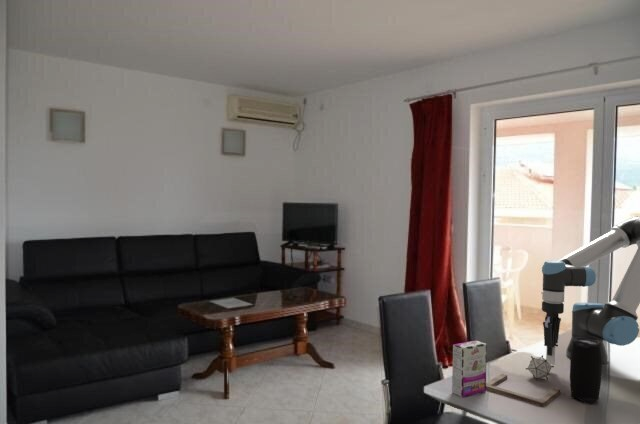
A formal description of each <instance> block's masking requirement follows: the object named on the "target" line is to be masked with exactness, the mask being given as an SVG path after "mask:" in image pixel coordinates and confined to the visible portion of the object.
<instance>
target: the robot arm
mask: <svg viewBox="0 0 640 424" xmlns="http://www.w3.org/2000/svg"><path fill="white" fill-rule="evenodd" d="M632 245H636V246H637V249H636V252H634V256H633V258H632V259H631V262H630V264H629V265H628V268H627V269H626V271H625V273H624V275H623V278H622V279H621V281H620V283H619V286H618V287H617V289H616V292H615V293H614V295H613V298H612V299H611V301H608V302H605V303H598V302H597V303H596V302H575V303H574V304H572V305H573V306H572V311H571V337H570V340H569V343H568V345H567V348H566V352H565V355H566V357H567V358H569V359H571V351H572V345H573V341H574V338H575V337H585V338H587V339H591V340H599V341H600V343H601V346H600V348H601V356H602V365H603V364H607V363H608V359H609V358H608V356H609V355H608V352H607V350H606V346H605V343H604V341H605V342H607V343H609V344H611V345H616V346H621V347H622V346H623V347H624V346H627V345H628V346H629V345H630V344H631V343H634V341H635V340H636V339H637V337H639V333H640V329H639V323H638V322H637V320H638V318H639V316H638V314H637V309H638V307H639V306H640V215H637V216H634V217H631V218H628V219H626V220H624V221H621V222H619V223H618V224H616V225H614V226H613V227H611V228H610V229H609V231H608V232H607V233H605V234H603V235H601V236H599V237H597V238H596V239H594V240H592V241H591V242H588V243H587V244H585V245H583V246H581V247H579V248H578V249H576V250H573V251H572V252H571V253H569V254H567V255H564V256H563V257H561V258H560V259H558V260H546V261H544V263H543V265H542V267H541V273H542V291H541V295H542V296H541V298H542V301H541V310H542V312H544V313H546V314H545V318H544V321H543V322H542V326H543V339H544V341H543V343H544V344H543V346H544V347H546V352H545V353H546V355H545V359H546V360H547V362H548V363H549V364H550V365H552V366H554V365H555V364H556V348H558V347H559V344H558V343H559V336H560V327H561V322H562V318H561V317H559V315H560V314H563V313H564V312H565V309H564V307H565V303H564V302H565V288H566V287H583V288H584V287H591V286H593V285H594V284H595V283H596V278H597V275H596V272H595V270H594V269H593V268H592V267H590V266H589V265H592V264H593V263H595V262H597V261H599V260H601V259H603V258H605V257H606V256H608V255H610V254H612V253H613V252H615V251H617V250H619V249H620V248H624V249H625V248H628V247H629V246H632Z"/></svg>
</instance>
